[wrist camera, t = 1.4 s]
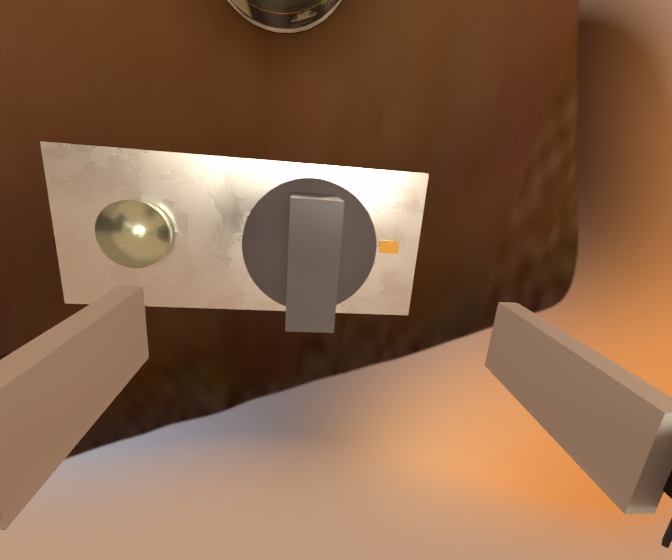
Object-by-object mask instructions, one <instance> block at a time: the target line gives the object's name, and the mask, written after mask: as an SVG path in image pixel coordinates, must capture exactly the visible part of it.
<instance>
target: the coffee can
mask: <svg viewBox="0 0 672 560" xmlns="http://www.w3.org/2000/svg"><path fill="white" fill-rule="evenodd" d="M227 1H228V2H229V3H230V5H231V6H232V7H233V8H234V9H235V10H236V11H237V12H238V13H239V14H240V15H242V16H243V17H244V18H245V19H247V20H248V21H249V22H250V23H252V24H254V25H256V26H259V27H261V28H263V29H266V30H269V31H273V32H278V33H296V32H301V31H305V30H308V29H310V28H312V27H314V26H316V25H318V24H320V23H321V22H322V21H324V20H325V19H326V18H327V17H328V16H330V15H331V14H332V13H333V11H334V10H335V9H336V8H337V7H338V5H339V4H340V2H341V1H342V0H227Z"/></svg>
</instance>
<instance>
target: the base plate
mask: <svg viewBox="0 0 672 560" xmlns="http://www.w3.org/2000/svg"><path fill="white" fill-rule="evenodd" d="M40 145H41V151H42V158H43V164H44V171H45V177H46V184H47V190H48V197H49V203H50V210H51V216H52V223H53V229H54V236H55V242H56V249H57V255H58V262H59V268H60V275H61V281H62V288H63V294H64V301H65V303H68V304H91V303H93V302H94V301H96V300H98V299H99V298H101V297H102V296H104V295H106V294H107V293H109V292H111V291H112V290H114V289H115V288H117V287H119V286H136V287H143V293H144V305H145V306H155V307H184V308H213V309H242V310H271V311H286V306H284V305H281V304H279V303H277V302H275V301H274V300H272V299H271V298H269V297H268V296H267V295H265V294H264V293H263V292H262V291H261V290H260V289H259V288H258V287H257V285H256V284H255V283H254V281H253V280H252V278H251V277H250V275H249V273H248V271H247V268H246V266H245V263H244V258H243V254H242V235H243V230H244V226H245V223H246V220H247V218H248V216H249V214H250V212H251V210H252V209H253V207H254V206H255V205H256V203H257V202H258V201H259V200H260V199H261V198H262V197H263V196H264V195H265V194H266V193H268V192H269V191H270V190H271V189H273V188H275V187H276V186H278V185H280V184H282V183H284V182H287V181H290V180H294V179H299V178H318V179H323V180H327V181H330V182H333V183H335V184H337V185H340V186H342V187H343V188H345V189H347V190H348V191H350V192H351V193H352V194H353V195H354V196H356V197H357V198H358V199H359V201H360V202H361V203H362V204H363V205H364V207H365V208H366V210H367V211H368V213H369V215H370V217H371V219H372V222H373V225H374V228H375V233H376V241H377V247H376V256H375V261H374V264H373V267H372V270H371V272H370V274H369V276H368V278H367V279H366V281H365V282H364V284H363V285H362V286H361V287H360V289H359V290H358V291H356V292H355V293H354V294H353V295H352V296H351V297H349V298H348V299H347V300H345V301H343V302H341V303H340V304H337V305H336V313H357V314H386V315H408V313H409V306H410V299H411V292H412V285H413V278H414V272H415V265H416V258H417V251H418V244H419V237H420V231H421V224H422V217H423V210H424V203H425V196H426V190H427V183H428V176H429V174H428V173H416V172H404V171H392V170H380V169H368V168H356V167H344V166H332V165H320V164H308V163H296V162H283V161H271V160H259V159H247V158H235V157H223V156H211V155H199V154H187V153H175V152H163V151H151V150H139V149H127V148H115V147H102V146H90V145H78V144H66V143H54V142H42V141H40Z"/></svg>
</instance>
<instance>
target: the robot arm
mask: <svg viewBox="0 0 672 560" xmlns="http://www.w3.org/2000/svg"><path fill="white" fill-rule="evenodd" d="M148 358H149V353H148V341H147V329H146V317H145V305H144V293H143V287H136V286H119V287H117V288H115V289H114V290H112V291H111V292H109V293H107V294H106V295H104V296H102V297H101V298H99V299H98V300H96V301H94V302H93V303H91V304H90V305H88V306H86V307H85V308H83V309H81V310H80V311H78V312H77V313H75V314H73V315H72V316H70V317H69V318H67V319H65V320H64V321H62V322H61V323H59V324H57V325H56V326H54V327H52V328H51V329H49V330H48V331H46V332H44V333H43V334H41V335H40V336H38V337H36V338H35V339H33V340H31V341H30V342H28V343H27V344H25V345H23V346H22V347H20V348H19V349H17V350H15V351H13V352H11V353H8V354H6V355H3V356H0V530H6V528H7V527H8V526H9V525H10V523H11V522H12V521H13V520H14V519H15V518H16V516H17V515H18V514H19V513H20V512H21V510H22V509H23V508H24V507H25V505H26V504H27V503H28V502H29V501H30V499H31V498H32V497H33V496H34V495H35V494H36V492H37V491H38V490H39V488H41V486H42V485H43V484H44V483H45V482H46V480H47V479H48V478H49V477H50V476H51V474H52V473H53V472H54V471H55V470H56V468H57V467H58V466H59V465H60V464H61V462H62V461H63V460H64V459H65V458H66V456H67V455H68V454H69V453H70V452H71V450H72V449H73V448H74V447H75V446H76V444H77V443H78V442H79V441H80V440H81V438H82V437H83V436H84V435H85V434H86V432H87V431H88V430H89V429H90V428H91V426H92V425H93V424H94V423H95V422H96V420H97V419H98V418H99V417H100V416H101V414H102V413H103V412H104V411H105V410H106V408H107V407H108V406H109V405H110V404H111V402H112V401H113V400H114V399H115V398H116V396H117V395H118V394H119V393H120V392H121V390H122V389H123V388H124V387H125V386H126V384H127V383H128V382H129V381H130V380H131V378H132V377H133V376H134V375H135V374H136V372H137V371H138V370H139V369H140V368H141V366H142V365H143V364H144V363H145V361H146V360H147V359H148ZM485 366H486V367H487V368H488V369H489V370H490V371H491V372H492V373H493V375H494V376H495V377H496V378H497V379H498V380H499V381H500V382H501V383H502V384H503V385H504V386H505V387H506V388H507V389H508V390H509V392H510V393H511V394H512V395H513V396H514V397H515V398H516V399H517V400H518V401H519V402H520V403H521V404H522V405H523V406H524V407H525V409H526V410H527V411H528V412H529V413H530V414H531V415H532V416H533V417H534V418H535V419H536V420H537V421H538V422H539V423H540V425H541V426H542V427H543V428H544V429H545V430H546V431H547V432H548V433H549V434H550V435H551V436H552V437H553V438H554V439H555V440H556V441H557V443H558V444H559V445H560V446H561V447H562V448H563V449H564V450H565V451H566V452H567V453H568V454H569V455H570V456H571V458H572V459H573V460H574V461H575V462H576V463H577V464H578V465H579V466H580V467H581V468H582V469H583V470H584V471H585V472H586V473H587V474H588V476H589V477H590V478H591V479H592V480H593V481H594V482H595V483H596V484H597V485H598V486H599V487H600V488H601V489H602V491H603V492H604V493H605V494H606V495H607V496H608V497H609V498H610V499H611V500H612V501H613V502H614V503H615V504H616V505H617V506H618V508H619V509H620V510H621V511H622V512H623V513H624V514H649V513H655V511H656V509H657V506H658V504H659V502H660V499H661V497H662V495H663V492H665V493H666V494H667V495H668V496H669V497H671V498H672V397H670V396H668V395H667V394H665V393H664V392H662V391H660V390H659V389H657V388H655V387H654V386H652V385H650V384H649V383H647V382H646V381H644V380H642V379H641V378H639V377H637V376H636V375H634V374H632V373H631V372H629V371H628V370H626V369H624V368H623V367H621V366H619V365H617V364H616V363H614V362H613V361H611V360H609V359H608V358H606V357H605V356H603V355H601V354H600V353H598V352H597V351H595V350H593V349H592V348H590V347H588V346H586V345H585V344H583V343H582V342H580V341H578V340H577V339H575V338H574V337H572V336H570V335H569V334H567V333H565V332H564V331H562V330H560V329H559V328H557V327H555V326H554V325H552V324H551V323H549V322H547V321H546V320H544V319H542V318H541V317H539V316H538V315H536V314H534V313H533V312H531V311H530V310H528V309H526V308H525V307H523V306H521V305H520V304H518V303H507V302H499V303H498V307H497V312H496V316H495V321H494V326H493V331H492V335H491V339H490V344H489V348H488V353H487V358H486V362H485ZM671 541H672V519H671V521H670V523H669V525H668V528H667V530H666V532H665V534H664V537H663V539H662V545H663V546H665V547H667V548H668V547H669V545H670V543H671Z"/></svg>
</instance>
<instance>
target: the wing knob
mask: <svg viewBox="0 0 672 560" xmlns="http://www.w3.org/2000/svg"><path fill="white" fill-rule="evenodd" d="M376 247H377V241H376V233H375V228H374V225H373V222H372V219H371V217H370V215H369V213H368V211H367V210H366V208H365V207H364V205H363V204H362V203H361V202H360V201H359V199H358V198H357V197H356V196H354V195H353V194H352V193H351V192H350V191H348V190H347V189H345V188H343V187H342V186H340V185H337V184H335V183H333V182H330V181H327V180H323V179H318V178H299V179H294V180H290V181H287V182H284V183H282V184H280V185H278V186H276V187H275V188H273V189H271V190H270V191H269V192H268V193H266V194H265V195H264V196H263V197H262V198H261V199H260V200H259V201H258V202H257V203H256V205H255V206H254V207H253V209H252V210H251V212H250V214H249V216H248V218H247V220H246V223H245V226H244V230H243V235H242V254H243V258H244V263H245V266H246V268H247V271H248V273H249V275H250V277H251V278H252V280H253V281H254V283H255V284H256V285H257V287H258V288H259V289H260V290H261V291H262V292H263V293H264V294H265V295H267V296H268V297H269V298H271V299H272V300H274V301H275V302H277V303H279V304H281V305H284V306H286V321H285V331H288V332H323V333H334V325H335V313H336V305H337V304H340V303H341V302H343V301H345V300H347V299H348V298H349V297H351V296H352V295H353V294H354V293H355V292H356V291H358V290H359V289H360V287H361V286H362V285H363V284H364V282H365V281H366V279H367V278H368V276H369V274H370V272H371V270H372V267H373V264H374V261H375V256H376Z"/></svg>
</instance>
